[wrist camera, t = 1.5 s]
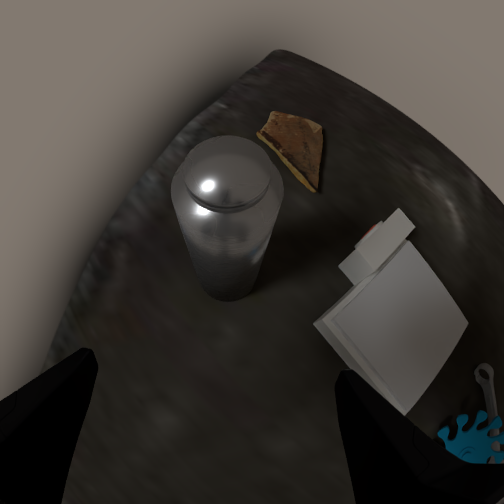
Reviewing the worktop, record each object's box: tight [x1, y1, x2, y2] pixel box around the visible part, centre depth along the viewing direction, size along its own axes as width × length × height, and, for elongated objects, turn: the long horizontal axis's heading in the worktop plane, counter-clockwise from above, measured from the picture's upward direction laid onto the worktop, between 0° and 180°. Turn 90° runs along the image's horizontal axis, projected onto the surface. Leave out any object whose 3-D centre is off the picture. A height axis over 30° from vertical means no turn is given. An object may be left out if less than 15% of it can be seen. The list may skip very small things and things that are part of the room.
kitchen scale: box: [313, 208, 468, 416], centre depth 22 cm, size 12×15×4 cm
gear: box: [438, 410, 504, 464], centre depth 16 cm, size 11×6×10 cm
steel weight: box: [171, 136, 284, 302], centre depth 17 cm, size 5×5×14 cm
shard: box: [257, 111, 323, 192], centre depth 29 cm, size 11×8×2 cm
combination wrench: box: [474, 363, 504, 464], centre depth 17 cm, size 4×1×20 cm
